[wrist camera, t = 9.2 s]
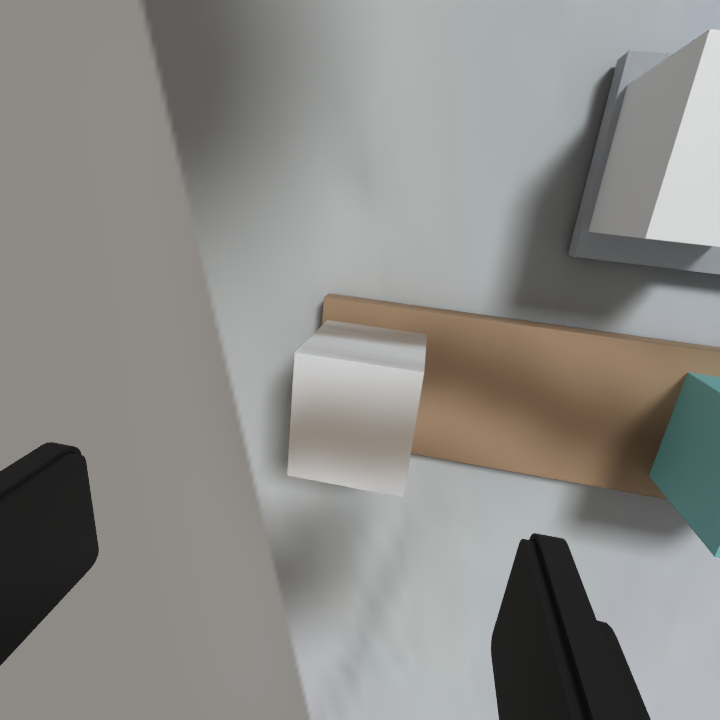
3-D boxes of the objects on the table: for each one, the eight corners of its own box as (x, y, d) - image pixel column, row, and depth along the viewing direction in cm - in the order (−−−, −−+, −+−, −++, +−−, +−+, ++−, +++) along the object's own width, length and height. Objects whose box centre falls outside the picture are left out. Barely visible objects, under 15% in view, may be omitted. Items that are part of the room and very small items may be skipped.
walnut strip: (329, 293, 21) (289, 323, 15) (965, 381, 18) (1212, 460, 12) (317, 426, 23) (279, 496, 17) (878, 525, 20) (1053, 647, 14)
